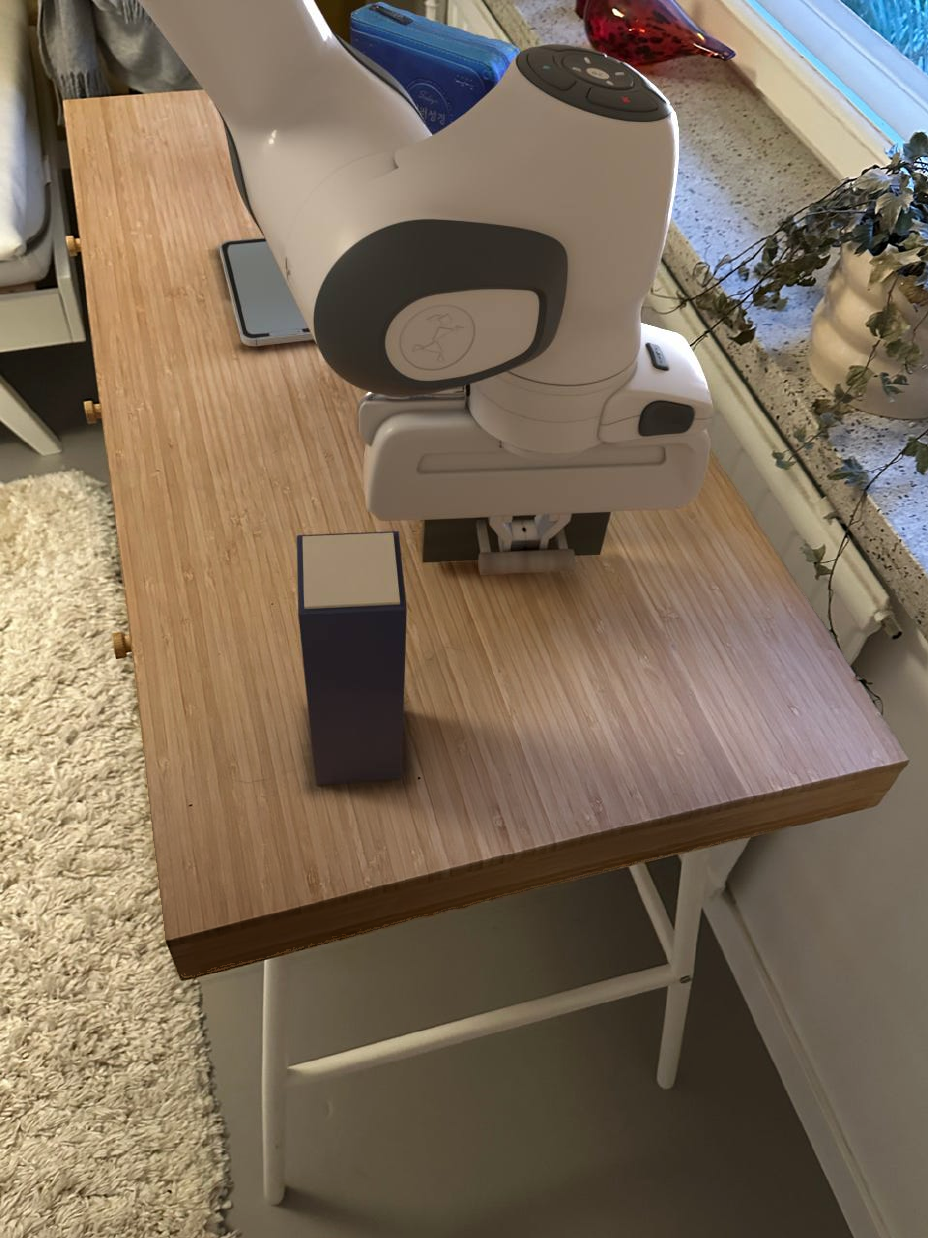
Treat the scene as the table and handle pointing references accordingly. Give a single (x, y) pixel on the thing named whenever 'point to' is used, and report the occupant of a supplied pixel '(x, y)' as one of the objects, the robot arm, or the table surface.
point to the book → (431, 60)
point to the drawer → (481, 543)
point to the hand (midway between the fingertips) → (521, 548)
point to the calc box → (353, 653)
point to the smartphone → (261, 294)
